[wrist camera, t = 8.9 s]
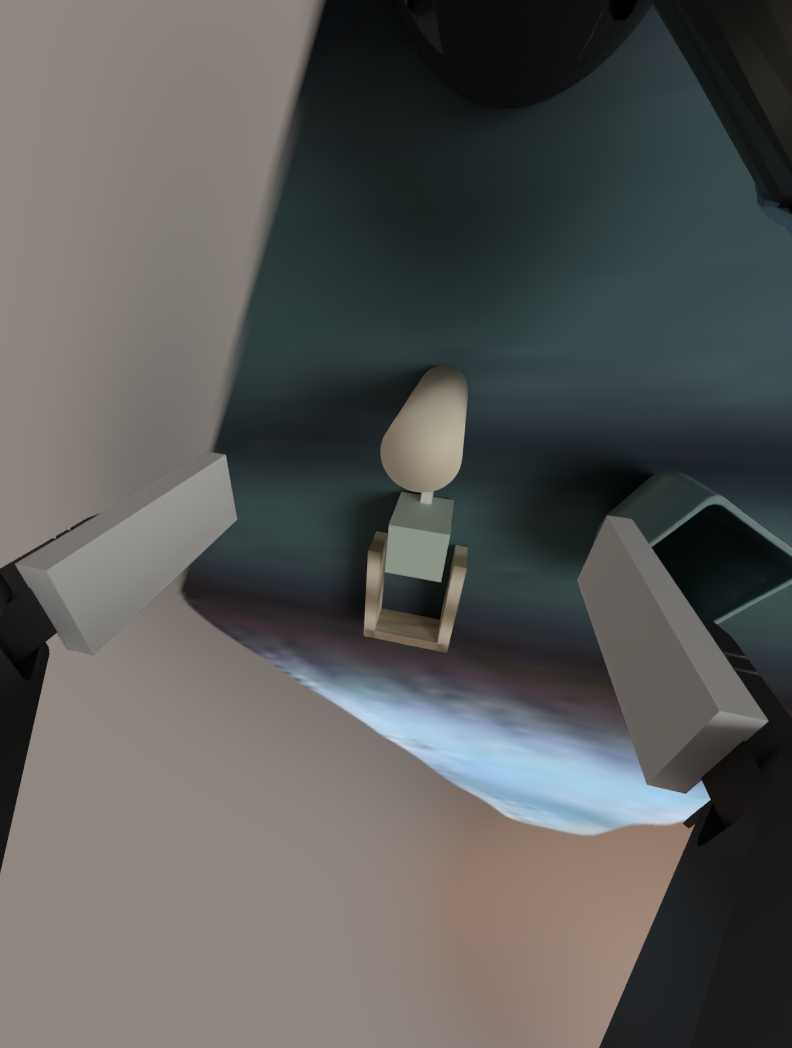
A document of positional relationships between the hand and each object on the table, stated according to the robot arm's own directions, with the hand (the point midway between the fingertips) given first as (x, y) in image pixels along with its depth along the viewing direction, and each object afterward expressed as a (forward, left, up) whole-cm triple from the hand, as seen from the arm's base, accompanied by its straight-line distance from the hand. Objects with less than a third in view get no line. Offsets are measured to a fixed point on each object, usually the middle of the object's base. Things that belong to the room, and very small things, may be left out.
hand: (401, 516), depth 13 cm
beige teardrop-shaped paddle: (+6, 0, -20) cm, 21 cm away
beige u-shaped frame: (+21, 0, -20) cm, 29 cm away
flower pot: (+8, +19, -20) cm, 29 cm away
